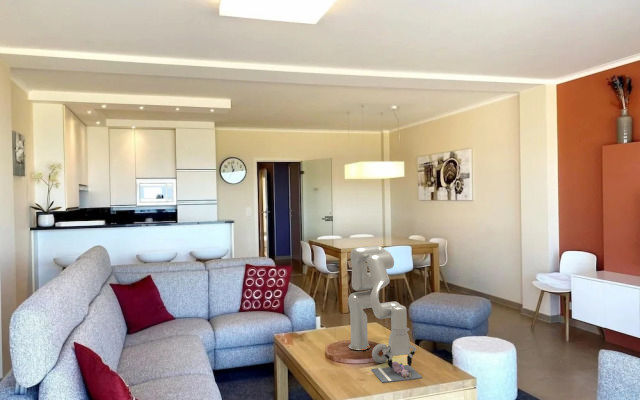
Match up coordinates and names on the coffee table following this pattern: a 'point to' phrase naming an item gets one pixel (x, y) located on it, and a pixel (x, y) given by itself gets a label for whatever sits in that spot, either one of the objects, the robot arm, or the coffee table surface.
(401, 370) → the rabbit figure
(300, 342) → the coffee table surface
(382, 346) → the donut
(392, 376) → the mat
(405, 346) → the robot arm
